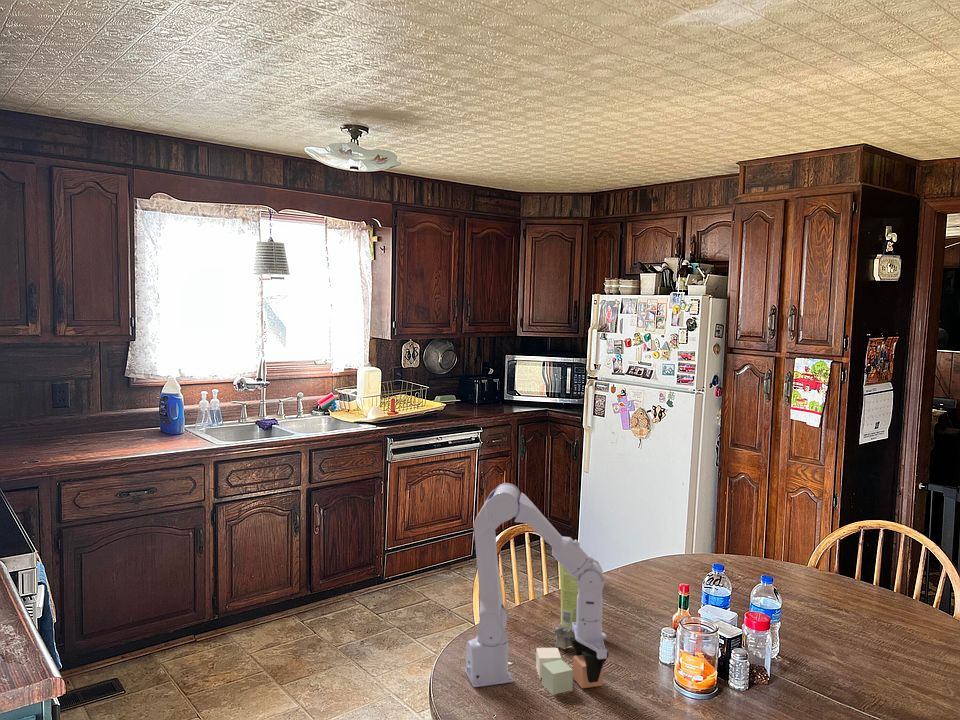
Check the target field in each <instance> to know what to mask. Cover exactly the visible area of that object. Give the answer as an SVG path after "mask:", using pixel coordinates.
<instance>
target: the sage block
mask: <svg viewBox="0 0 960 720" xmlns="http://www.w3.org/2000/svg"><path fill="white" fill-rule="evenodd" d="M573 680H574V678H573V667H571V666H569V664H567V663H566V662H565V661H564V659H561V660H557V661H552V662H547V663H543V664H542V679H541V686H542V685H543V686H544V687H545V688H547V690H548V691H549V692H550V693H551V694H552V695H554V694H557V693H562V692H566V691H570V690H572V691H573V683H574V681H573ZM543 686H542V687H543ZM544 687H543V688H544ZM545 688H544V689H545ZM547 690H546V691H547ZM548 691H547V692H548ZM549 692H548V693H549ZM550 693H549V694H550ZM551 694H550V695H551ZM552 695H551V696H552ZM554 696H555V695H554Z"/></svg>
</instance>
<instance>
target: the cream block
mask: <svg viewBox="0 0 960 720" xmlns="http://www.w3.org/2000/svg"><path fill="white" fill-rule="evenodd" d="M535 653H536V654H535V658H536V659H535V666H536V667H535V670H536V669H537V670H536V672H538V673H537V675H539V677H538V679H539V678H542V664H543V663H547V662H552V661H557V660H562V656H561V653H560V650H559V648H556V647H536V651H535Z"/></svg>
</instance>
